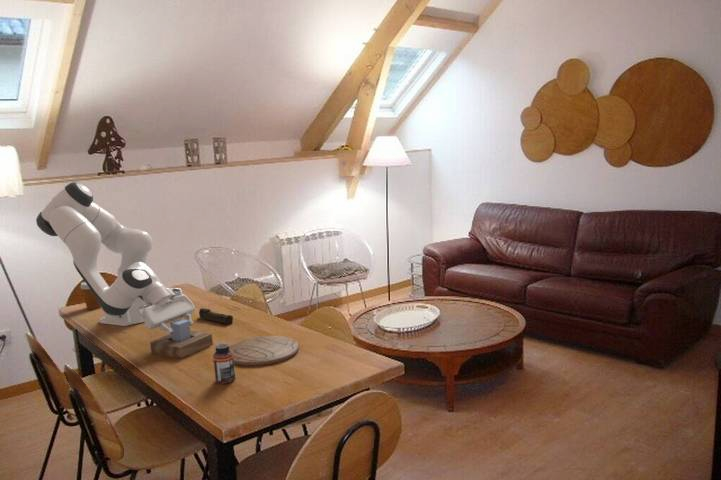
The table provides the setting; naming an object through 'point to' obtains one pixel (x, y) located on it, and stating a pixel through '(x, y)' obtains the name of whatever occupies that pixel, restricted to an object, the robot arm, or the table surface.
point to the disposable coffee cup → (89, 297)
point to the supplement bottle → (223, 364)
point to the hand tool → (215, 316)
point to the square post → (180, 330)
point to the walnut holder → (181, 345)
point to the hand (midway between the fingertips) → (181, 329)
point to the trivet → (263, 350)
